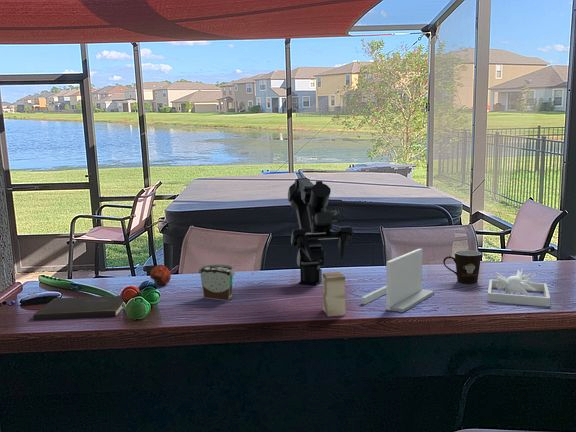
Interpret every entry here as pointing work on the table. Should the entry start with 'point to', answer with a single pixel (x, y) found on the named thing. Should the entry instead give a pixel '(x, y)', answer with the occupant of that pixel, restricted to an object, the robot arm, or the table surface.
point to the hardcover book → (80, 308)
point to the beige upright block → (334, 293)
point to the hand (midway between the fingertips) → (326, 259)
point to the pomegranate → (160, 275)
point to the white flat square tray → (520, 298)
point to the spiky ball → (515, 283)
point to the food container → (217, 281)
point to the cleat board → (402, 283)
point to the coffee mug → (466, 266)
